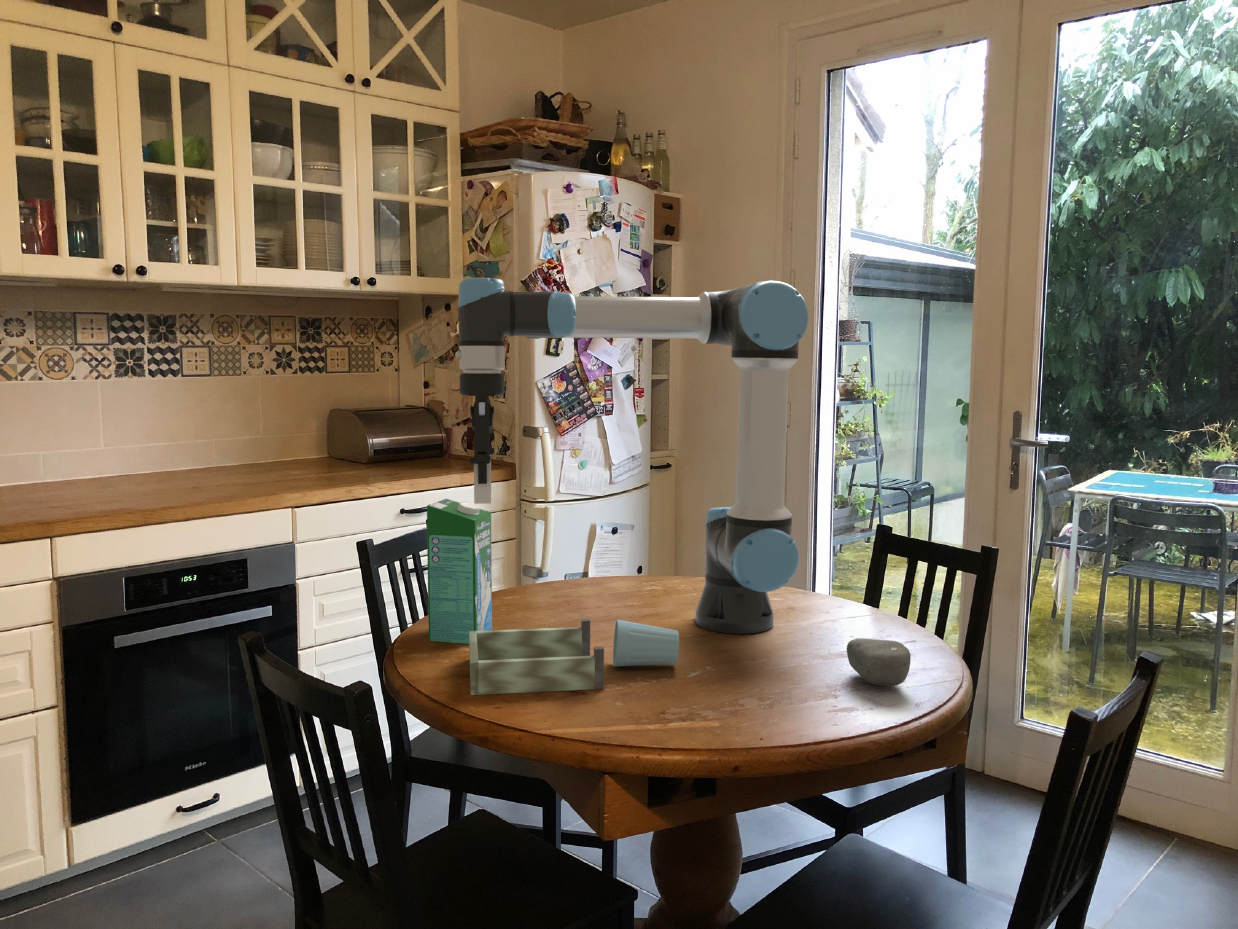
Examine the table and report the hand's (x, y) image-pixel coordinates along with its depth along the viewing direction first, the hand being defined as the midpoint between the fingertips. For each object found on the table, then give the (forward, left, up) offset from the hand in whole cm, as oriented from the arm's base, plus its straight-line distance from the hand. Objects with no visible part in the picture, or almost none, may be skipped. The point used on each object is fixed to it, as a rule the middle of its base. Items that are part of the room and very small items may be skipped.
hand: (483, 497), depth 165 cm
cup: (-30, +12, -28) cm, 43 cm away
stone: (-63, +20, -29) cm, 72 cm away
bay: (-8, +12, -28) cm, 31 cm away
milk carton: (+4, -11, -28) cm, 30 cm away
